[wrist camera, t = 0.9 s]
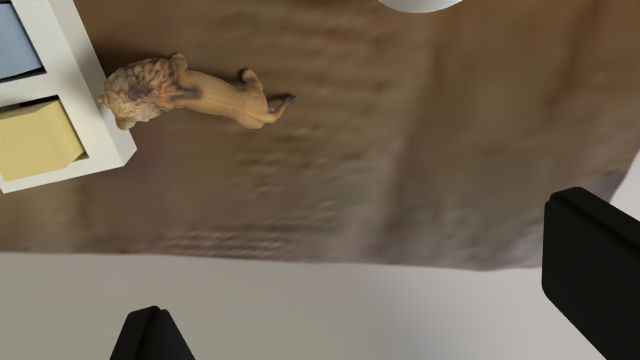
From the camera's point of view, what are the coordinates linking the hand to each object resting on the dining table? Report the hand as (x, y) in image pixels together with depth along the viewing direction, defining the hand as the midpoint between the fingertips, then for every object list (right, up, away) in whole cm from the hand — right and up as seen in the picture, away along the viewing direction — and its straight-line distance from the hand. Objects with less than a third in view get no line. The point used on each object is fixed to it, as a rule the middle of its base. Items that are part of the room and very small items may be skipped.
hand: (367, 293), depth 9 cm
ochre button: (-23, +7, +22) cm, 33 cm away
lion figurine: (-11, +11, +26) cm, 30 cm away
